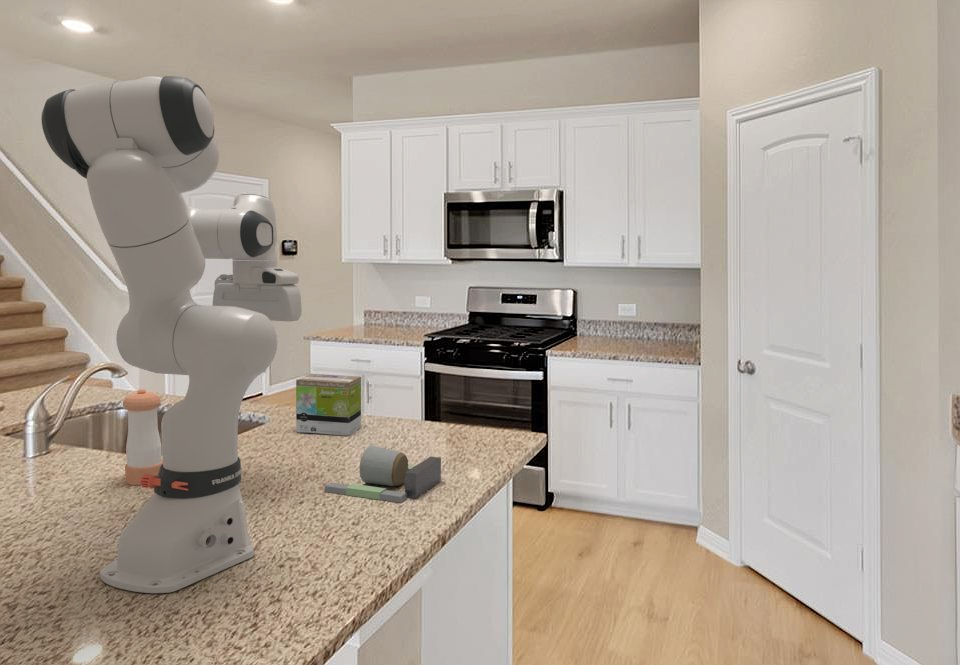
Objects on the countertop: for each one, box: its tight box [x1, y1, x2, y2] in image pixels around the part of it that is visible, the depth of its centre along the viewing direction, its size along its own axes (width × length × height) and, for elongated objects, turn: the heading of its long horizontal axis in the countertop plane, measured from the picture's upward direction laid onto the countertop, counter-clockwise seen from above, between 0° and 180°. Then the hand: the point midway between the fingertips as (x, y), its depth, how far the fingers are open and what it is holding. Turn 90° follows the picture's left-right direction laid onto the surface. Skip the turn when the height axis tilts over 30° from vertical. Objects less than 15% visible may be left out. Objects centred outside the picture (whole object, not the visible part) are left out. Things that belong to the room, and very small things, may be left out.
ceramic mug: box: [359, 445, 409, 487], centre depth 146 cm, size 11×8×8 cm
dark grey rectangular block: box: [404, 456, 442, 499], centre depth 142 cm, size 12×2×5 cm, turn 159°
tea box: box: [295, 373, 362, 437], centre depth 188 cm, size 15×10×15 cm
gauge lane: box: [323, 464, 416, 504], centre depth 145 cm, size 19×17×2 cm
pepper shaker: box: [122, 388, 163, 486], centre depth 145 cm, size 7×7×19 cm
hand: (256, 341), depth 146 cm, fingers closed
